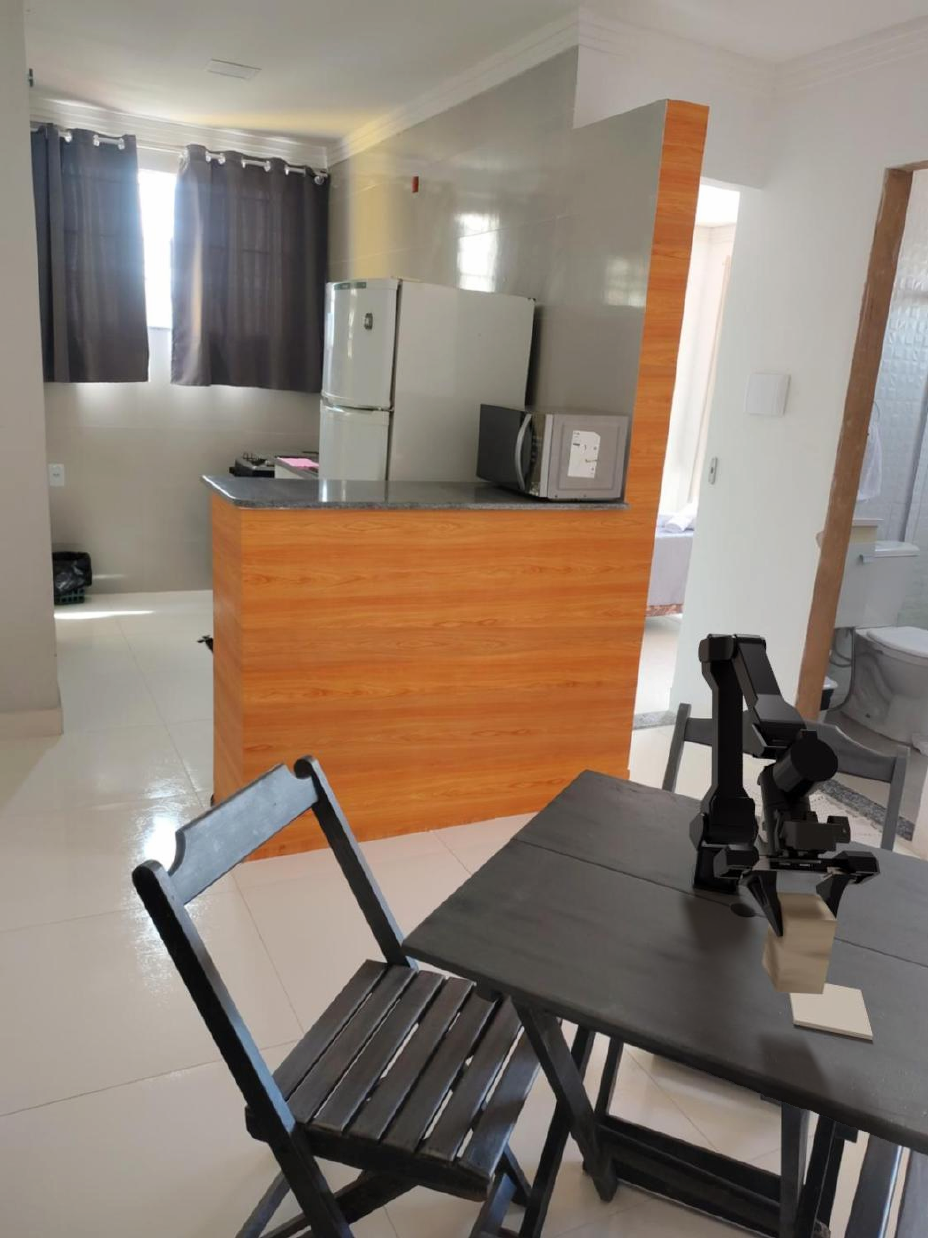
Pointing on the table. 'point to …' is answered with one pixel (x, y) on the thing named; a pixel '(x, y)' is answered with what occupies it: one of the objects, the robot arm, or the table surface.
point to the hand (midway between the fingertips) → (804, 937)
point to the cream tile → (832, 1011)
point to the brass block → (800, 944)
